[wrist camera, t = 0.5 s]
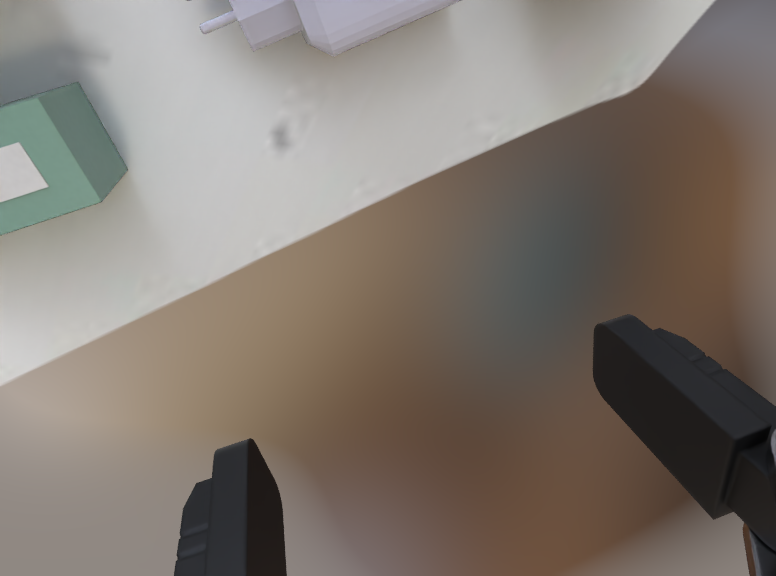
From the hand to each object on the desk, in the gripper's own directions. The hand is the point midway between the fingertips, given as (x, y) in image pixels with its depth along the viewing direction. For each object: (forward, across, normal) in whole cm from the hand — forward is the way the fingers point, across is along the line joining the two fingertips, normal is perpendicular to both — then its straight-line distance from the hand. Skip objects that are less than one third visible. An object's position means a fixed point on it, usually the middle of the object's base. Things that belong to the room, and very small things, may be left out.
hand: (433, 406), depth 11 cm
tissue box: (+27, +18, -4) cm, 33 cm away
